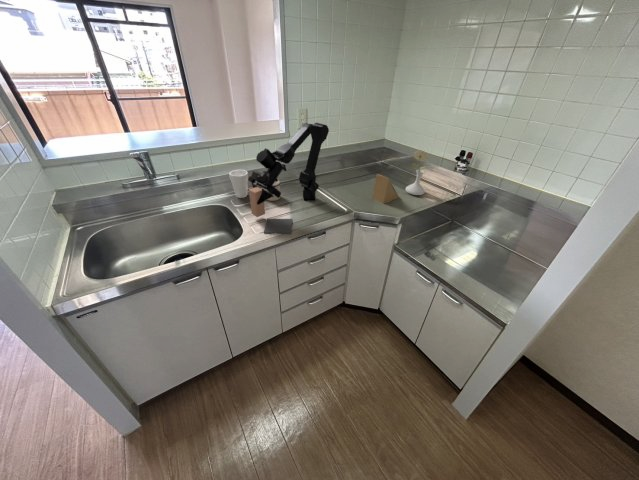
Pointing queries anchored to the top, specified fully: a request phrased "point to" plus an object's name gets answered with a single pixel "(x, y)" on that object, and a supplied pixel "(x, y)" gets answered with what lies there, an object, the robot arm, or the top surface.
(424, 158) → the flower in vase
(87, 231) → the top surface
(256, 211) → the terracotta block
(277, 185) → the teacup with lid
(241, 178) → the foam cup
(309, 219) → the top surface
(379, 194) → the sandwich container
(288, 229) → the black mat
